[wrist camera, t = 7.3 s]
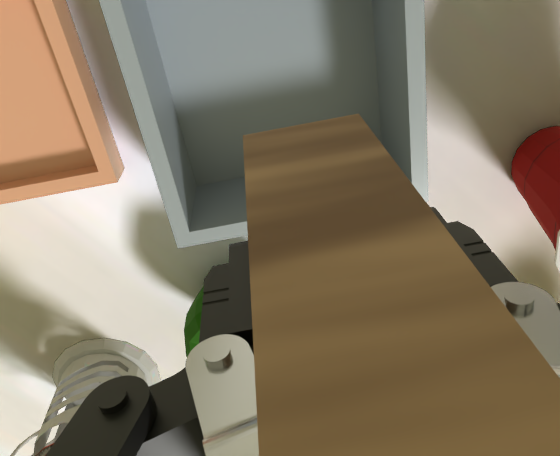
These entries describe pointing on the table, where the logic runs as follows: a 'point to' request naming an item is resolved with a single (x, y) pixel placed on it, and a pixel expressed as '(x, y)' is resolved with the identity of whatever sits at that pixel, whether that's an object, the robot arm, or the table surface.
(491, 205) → the table surface
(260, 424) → the walnut stick
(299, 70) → the grey tub
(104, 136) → the terracotta tray
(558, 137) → the plastic cup
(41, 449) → the french press
